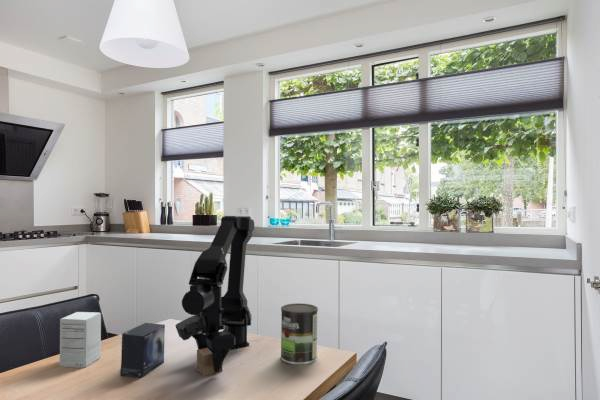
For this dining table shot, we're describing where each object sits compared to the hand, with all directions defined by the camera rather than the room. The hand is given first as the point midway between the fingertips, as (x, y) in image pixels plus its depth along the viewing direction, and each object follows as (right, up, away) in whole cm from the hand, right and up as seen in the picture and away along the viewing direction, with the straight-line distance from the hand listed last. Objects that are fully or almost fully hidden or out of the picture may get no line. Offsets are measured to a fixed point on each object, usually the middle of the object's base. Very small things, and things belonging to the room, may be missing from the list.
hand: (209, 365), depth 105 cm
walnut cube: (0, -1, 0) cm, 1 cm away
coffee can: (+23, -2, +9) cm, 25 cm away
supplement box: (-36, -1, +5) cm, 36 cm away
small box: (-17, -1, 0) cm, 17 cm away
